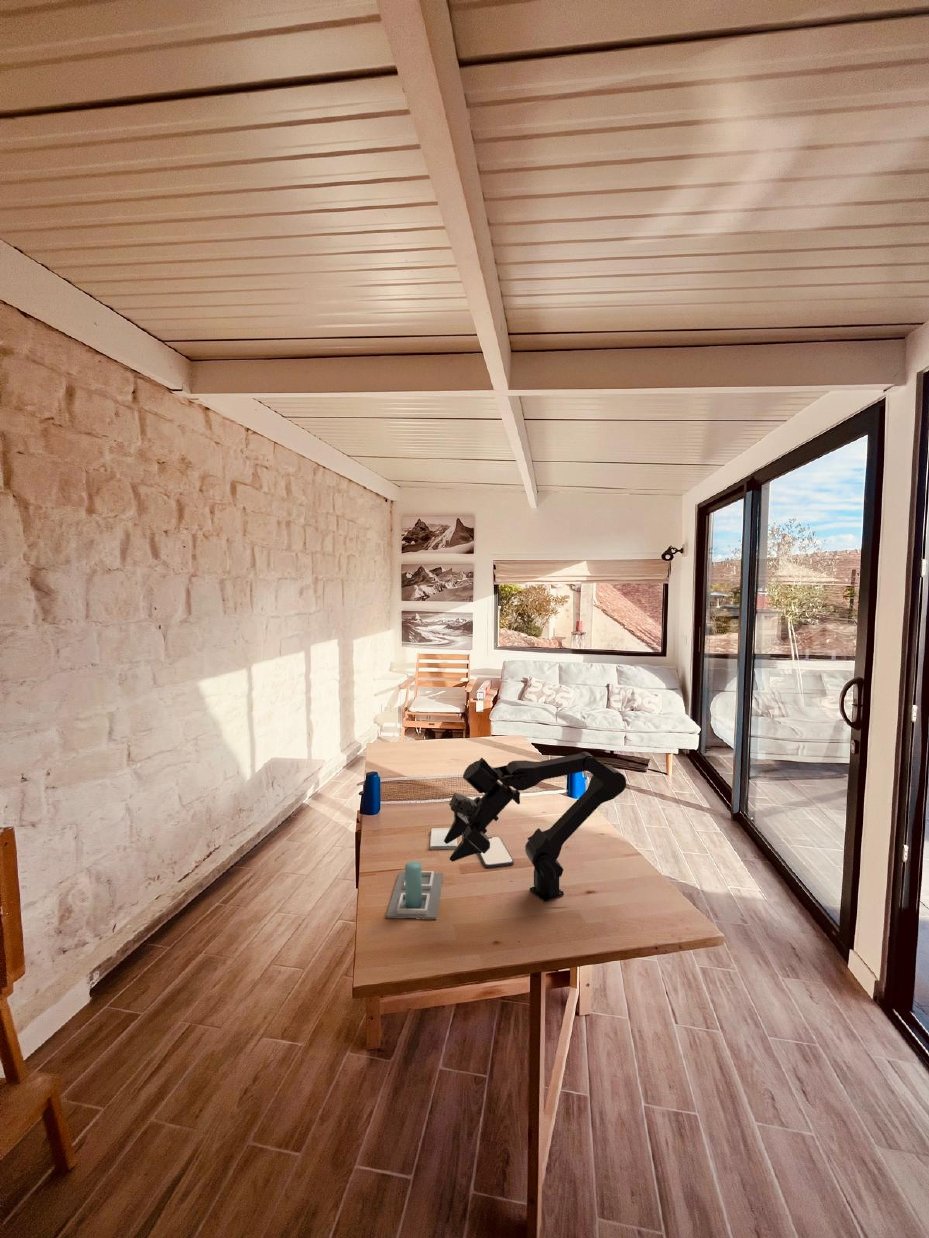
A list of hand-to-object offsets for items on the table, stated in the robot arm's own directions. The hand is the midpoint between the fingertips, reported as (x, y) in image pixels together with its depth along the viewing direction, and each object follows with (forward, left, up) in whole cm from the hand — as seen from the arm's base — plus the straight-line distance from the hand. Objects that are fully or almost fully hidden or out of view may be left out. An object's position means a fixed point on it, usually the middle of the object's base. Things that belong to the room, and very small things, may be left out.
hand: (447, 851), depth 138 cm
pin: (+3, +8, -13) cm, 16 cm away
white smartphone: (+16, -24, -14) cm, 32 cm away
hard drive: (+31, -16, -14) cm, 37 cm away
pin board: (+8, +5, -14) cm, 16 cm away
